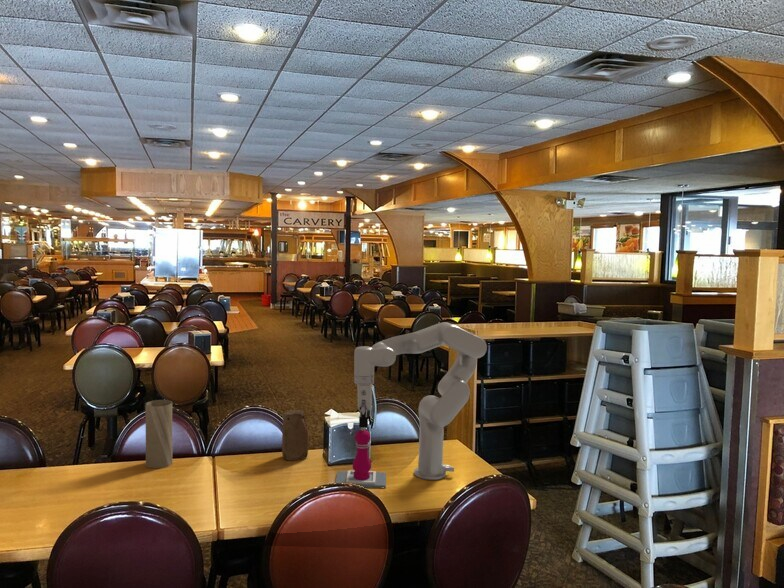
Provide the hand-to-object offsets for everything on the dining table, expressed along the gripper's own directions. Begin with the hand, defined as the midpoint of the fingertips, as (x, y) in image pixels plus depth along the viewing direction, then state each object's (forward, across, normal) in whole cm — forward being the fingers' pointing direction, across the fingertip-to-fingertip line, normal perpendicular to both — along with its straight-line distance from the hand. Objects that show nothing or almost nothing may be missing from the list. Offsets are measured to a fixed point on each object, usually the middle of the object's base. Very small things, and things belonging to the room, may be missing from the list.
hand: (364, 423), depth 236 cm
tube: (+21, +11, +83) cm, 86 cm away
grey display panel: (+23, 0, +1) cm, 23 cm away
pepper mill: (+22, 0, +1) cm, 22 cm away
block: (+22, +22, +30) cm, 43 cm away
